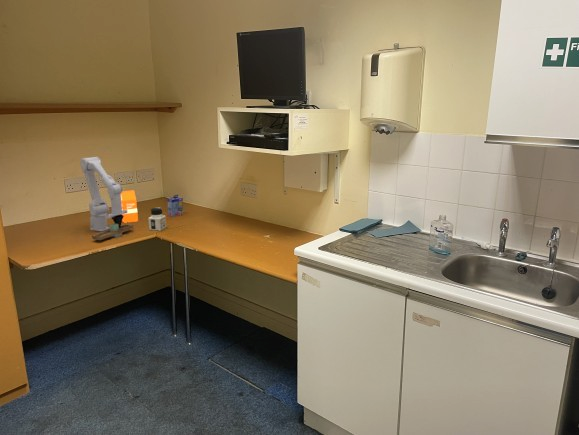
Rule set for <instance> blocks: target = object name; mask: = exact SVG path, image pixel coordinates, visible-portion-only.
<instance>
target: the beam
mask: <svg viewBox="0 0 579 435" xmlns="http://www.w3.org/2000/svg"><path fill="white" fill-rule="evenodd" d="M133 229H135V228H134V225H133V224H127V223H124V224H121V228H119V230H115V231H113V232H110V229H107V230H104V231H100V232H99V233H95V234H92V235H91V239H92V240H96V241H97V240H98V241H102V240H105V239H108V238H114V239H117V238H119V237H122V236H123V233H125V232H128V231H131V230H133Z"/></svg>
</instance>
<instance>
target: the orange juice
mask: <svg viewBox="0 0 579 435" xmlns="http://www.w3.org/2000/svg"><path fill="white" fill-rule="evenodd" d="M121 203H122V210H127V212H128V213H125V214H122V215H124V217H123V220H122V222H123V223H124V224H127V222H128V223H132V222H133V223H134V222H138V221H139V217H138V216H139V214H138V207H137V205H138V204H137V198H136V193H135V190H134V189H133V190H124V191H122V193H121Z"/></svg>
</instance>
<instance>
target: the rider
mask: <svg viewBox="0 0 579 435" xmlns="http://www.w3.org/2000/svg"><path fill="white" fill-rule="evenodd" d="M108 227H109V228H110V229H109V230H110V232H113V231H115V230H119V226H118V224H115V222H114V223H112V224H109V226H108Z"/></svg>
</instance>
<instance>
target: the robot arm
mask: <svg viewBox="0 0 579 435" xmlns="http://www.w3.org/2000/svg"><path fill="white" fill-rule="evenodd" d="M79 164H80V167H81V171H82V173H83V174H84V177H85V180H86V184H87V188H88V191H89V194H90V197H91V201H90V203H89V204H88V206H89V213H90V219H89V222H90V223H89V224H90V228H89V230H90V231H95V232H104V231H107V230H110V228H109V226H108V219H112V221H113V222H114V223H115V224H118V226H119V228H121V226H122V222H123V221H122V220H123V217H124V215H122V214H125V213H128V212H127V210H122V203H121V193H122V191H123V187H122V185H121V184H120V183H118V182H116V180H114V178H113V177H112V175H110V174H108V173H107V171H105V169H104V168H103V166H102V161H101V159H100V157H98V156H93V157H83V158H81V160H80V163H79ZM95 173H97V175H98V176H99V177H101V182H102V183H103V185H104V187H106V189H107V191H106V192H107V194H108V196H109V198H110V206H111V208H109V205H108V204H107V203H108V202H107V200H105V199H104V198H102V196H101V192H100V189H99V185H98V183H97V179H96V176H95ZM110 209H111V213H109V211H110Z"/></svg>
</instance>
